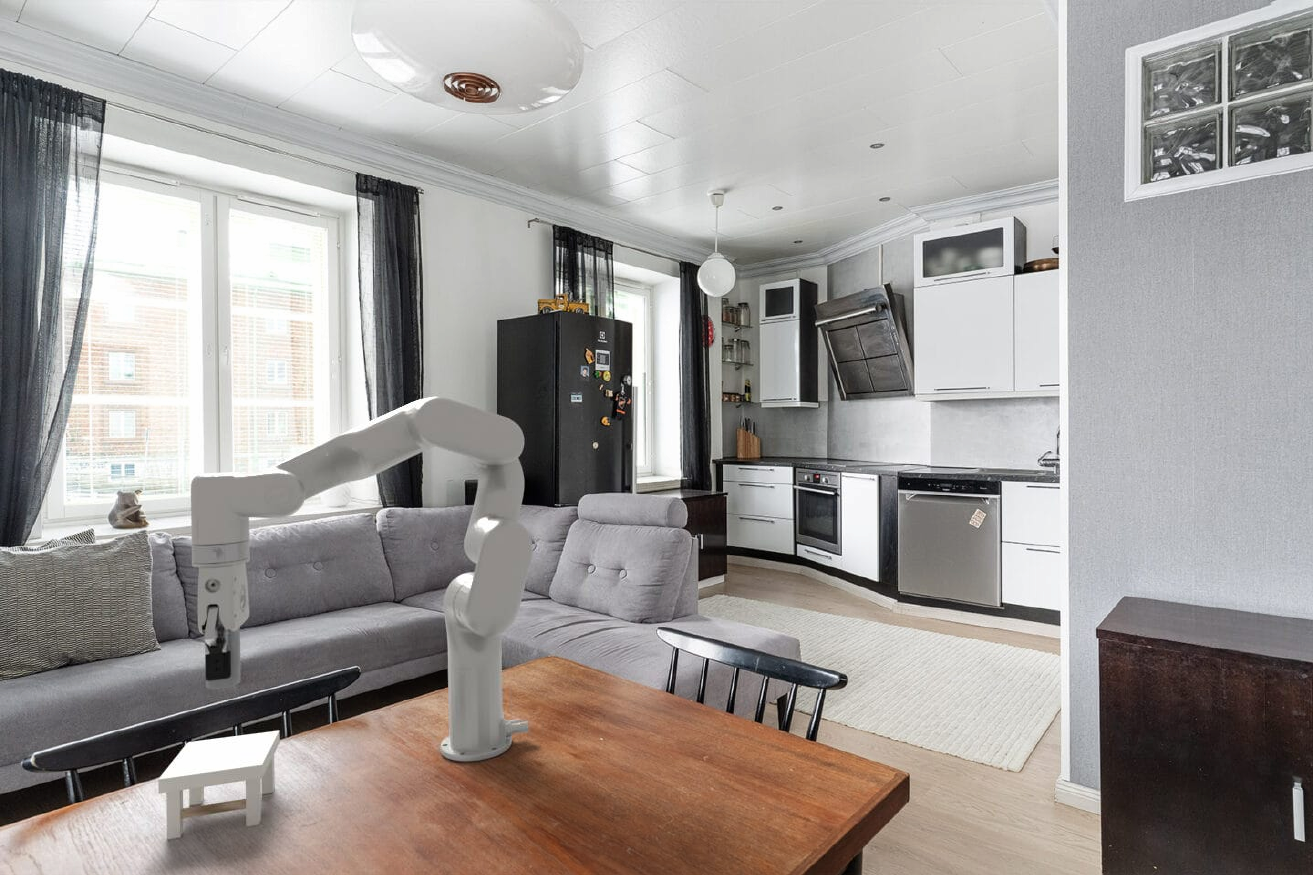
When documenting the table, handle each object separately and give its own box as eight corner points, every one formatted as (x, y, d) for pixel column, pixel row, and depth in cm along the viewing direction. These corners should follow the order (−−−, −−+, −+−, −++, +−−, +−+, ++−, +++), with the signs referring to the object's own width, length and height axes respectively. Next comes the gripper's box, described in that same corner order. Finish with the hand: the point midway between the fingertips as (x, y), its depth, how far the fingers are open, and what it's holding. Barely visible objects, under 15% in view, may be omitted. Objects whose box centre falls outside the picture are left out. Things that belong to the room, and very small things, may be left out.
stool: (280, 785, 116) (279, 730, 116) (263, 825, 104) (262, 764, 104) (188, 799, 112) (187, 742, 112) (159, 843, 100) (158, 779, 100)
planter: (224, 690, 105) (223, 621, 105) (198, 688, 106) (197, 620, 106) (247, 679, 110) (246, 613, 110) (222, 678, 111) (221, 612, 111)
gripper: (235, 560, 101) (237, 688, 101) (261, 544, 117) (263, 654, 117) (174, 564, 99) (176, 695, 99) (209, 547, 115) (211, 660, 115)
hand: (223, 672), depth 108 cm, fingers closed on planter, 4 cm apart
